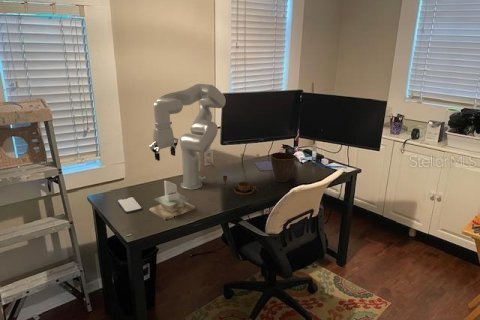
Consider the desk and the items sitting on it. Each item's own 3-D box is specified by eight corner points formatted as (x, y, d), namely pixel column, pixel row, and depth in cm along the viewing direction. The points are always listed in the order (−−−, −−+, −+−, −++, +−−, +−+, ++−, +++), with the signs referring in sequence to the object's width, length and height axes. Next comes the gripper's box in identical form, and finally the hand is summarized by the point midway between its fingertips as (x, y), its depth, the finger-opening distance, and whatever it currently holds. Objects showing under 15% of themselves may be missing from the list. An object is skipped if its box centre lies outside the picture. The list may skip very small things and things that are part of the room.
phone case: (143, 211, 184) (133, 199, 196) (142, 208, 183) (133, 196, 196) (125, 215, 179) (116, 202, 192) (125, 212, 179) (116, 200, 191)
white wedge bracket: (156, 196, 179) (164, 180, 179) (173, 201, 185) (180, 185, 185) (160, 199, 176) (167, 182, 176) (176, 203, 182) (183, 188, 183)
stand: (179, 200, 195) (178, 190, 193) (195, 208, 185) (194, 198, 183) (149, 210, 183) (148, 199, 181) (164, 220, 173) (164, 208, 171)
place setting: (233, 198, 200) (233, 188, 198) (221, 185, 217) (221, 175, 216) (261, 193, 206) (262, 184, 204) (248, 181, 224) (248, 172, 222)
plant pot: (264, 179, 226) (265, 154, 221) (282, 174, 235) (283, 150, 229) (281, 186, 215) (282, 161, 210) (298, 181, 223) (300, 156, 218)
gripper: (172, 121, 191) (174, 152, 197) (143, 127, 179) (147, 160, 185) (181, 123, 186) (183, 155, 192) (152, 130, 174) (155, 163, 180)
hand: (165, 157), depth 188 cm, fingers open, 9 cm apart
